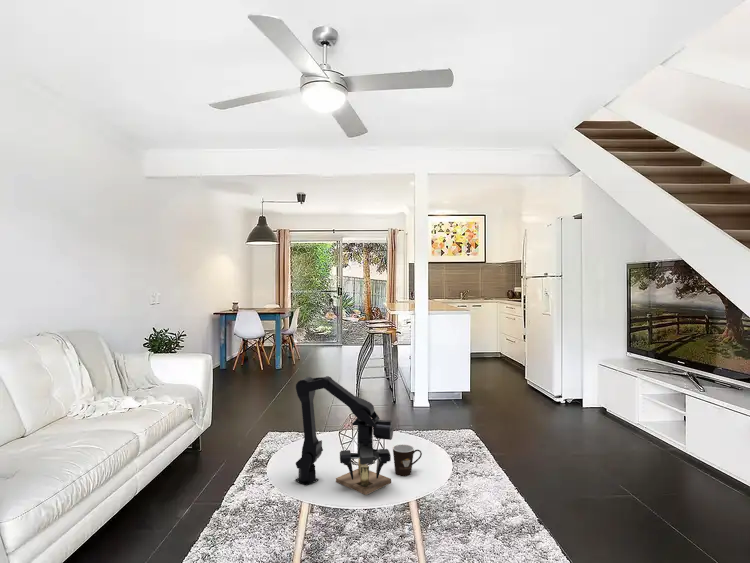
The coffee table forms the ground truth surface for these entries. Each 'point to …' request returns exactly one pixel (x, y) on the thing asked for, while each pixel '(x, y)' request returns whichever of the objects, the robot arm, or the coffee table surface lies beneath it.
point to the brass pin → (364, 475)
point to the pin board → (355, 483)
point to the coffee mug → (404, 459)
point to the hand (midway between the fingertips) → (364, 478)
